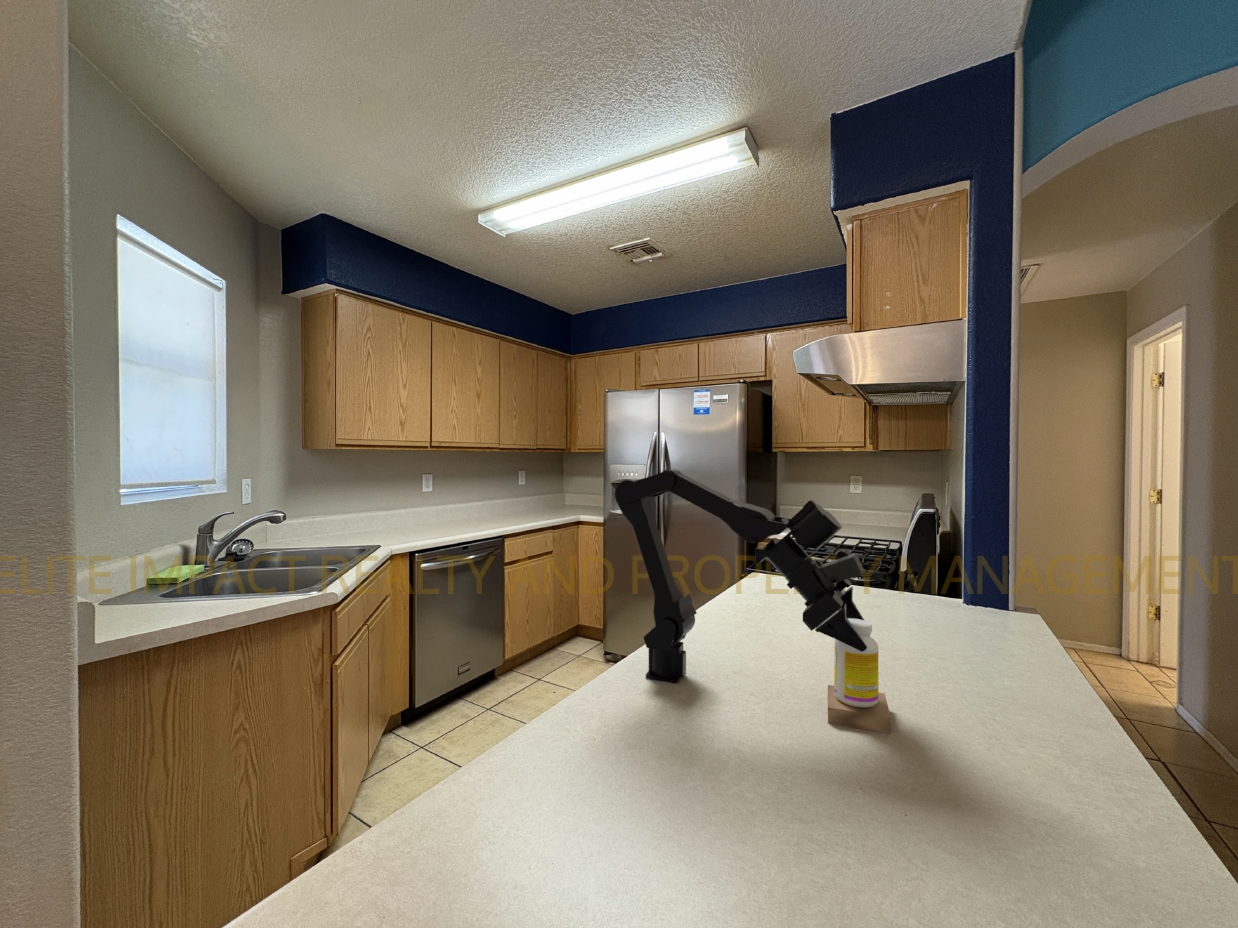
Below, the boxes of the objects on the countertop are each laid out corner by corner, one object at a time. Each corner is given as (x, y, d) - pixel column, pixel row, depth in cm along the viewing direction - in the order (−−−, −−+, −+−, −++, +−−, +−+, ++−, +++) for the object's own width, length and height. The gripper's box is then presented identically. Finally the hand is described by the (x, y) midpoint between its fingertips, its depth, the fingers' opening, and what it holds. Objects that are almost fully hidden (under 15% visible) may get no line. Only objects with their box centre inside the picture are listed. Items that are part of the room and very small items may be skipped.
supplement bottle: (887, 706, 84) (888, 626, 84) (853, 711, 82) (853, 630, 82) (858, 688, 91) (859, 614, 90) (825, 693, 89) (826, 617, 89)
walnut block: (827, 722, 84) (828, 707, 84) (827, 698, 92) (827, 684, 92) (890, 733, 80) (890, 717, 80) (884, 707, 89) (884, 693, 89)
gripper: (825, 544, 80) (907, 627, 75) (838, 529, 96) (906, 597, 91) (772, 589, 84) (847, 671, 78) (793, 568, 100) (856, 635, 95)
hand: (866, 640), depth 86 cm, fingers open, 9 cm apart
